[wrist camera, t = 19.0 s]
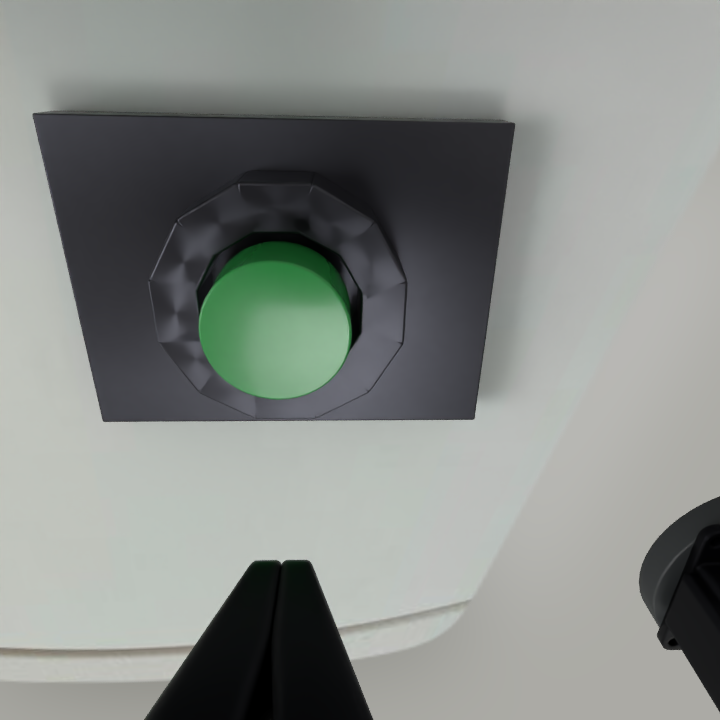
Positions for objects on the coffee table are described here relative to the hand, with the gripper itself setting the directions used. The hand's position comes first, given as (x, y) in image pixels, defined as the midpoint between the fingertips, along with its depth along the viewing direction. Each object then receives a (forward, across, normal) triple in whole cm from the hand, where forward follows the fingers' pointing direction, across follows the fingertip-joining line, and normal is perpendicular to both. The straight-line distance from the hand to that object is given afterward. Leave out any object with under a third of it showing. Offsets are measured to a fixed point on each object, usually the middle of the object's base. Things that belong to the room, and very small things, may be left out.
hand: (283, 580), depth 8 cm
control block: (+10, +1, -1) cm, 10 cm away
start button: (+8, +1, -1) cm, 8 cm away
